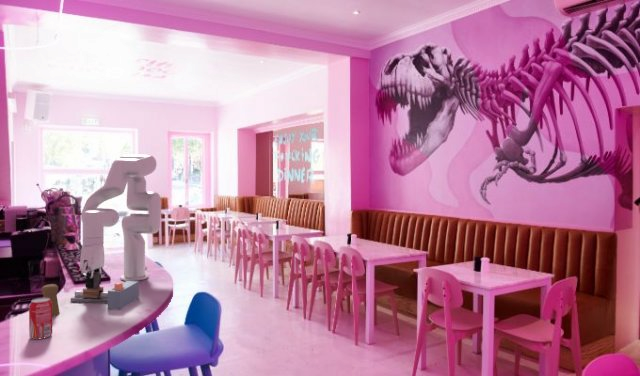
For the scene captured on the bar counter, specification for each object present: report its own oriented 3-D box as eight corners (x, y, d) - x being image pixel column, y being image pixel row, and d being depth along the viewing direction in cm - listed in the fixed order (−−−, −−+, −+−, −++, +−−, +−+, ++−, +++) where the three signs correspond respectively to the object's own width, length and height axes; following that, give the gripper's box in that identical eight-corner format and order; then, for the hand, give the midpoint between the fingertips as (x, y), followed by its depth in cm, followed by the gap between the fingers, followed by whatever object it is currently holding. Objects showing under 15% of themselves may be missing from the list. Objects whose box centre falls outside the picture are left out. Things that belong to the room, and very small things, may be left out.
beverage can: (36, 333, 144) (35, 296, 143) (56, 333, 144) (56, 296, 143) (25, 340, 137) (24, 302, 137) (46, 340, 138) (45, 302, 137)
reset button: (116, 297, 174) (117, 282, 173) (124, 297, 173) (124, 282, 173) (112, 299, 171) (112, 284, 170) (120, 300, 170) (120, 284, 170)
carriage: (89, 294, 181) (89, 271, 181) (103, 294, 181) (103, 272, 180) (82, 297, 177) (82, 274, 176) (97, 297, 176) (97, 274, 176)
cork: (50, 318, 158) (50, 287, 157) (36, 316, 159) (35, 286, 158) (63, 312, 164) (63, 283, 163) (49, 311, 165) (49, 282, 164)
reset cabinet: (127, 297, 184) (127, 280, 183) (138, 298, 183) (138, 281, 183) (107, 309, 169) (107, 290, 168) (120, 309, 168) (120, 291, 168)
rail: (79, 297, 182) (79, 289, 182) (124, 299, 181) (124, 290, 181) (70, 301, 176) (70, 293, 176) (116, 303, 175) (116, 295, 175)
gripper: (96, 237, 186) (96, 280, 187) (71, 244, 170) (71, 291, 171) (113, 238, 186) (113, 281, 187) (89, 245, 169) (89, 292, 170)
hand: (93, 285), depth 179 cm, fingers closed on carriage, 4 cm apart
